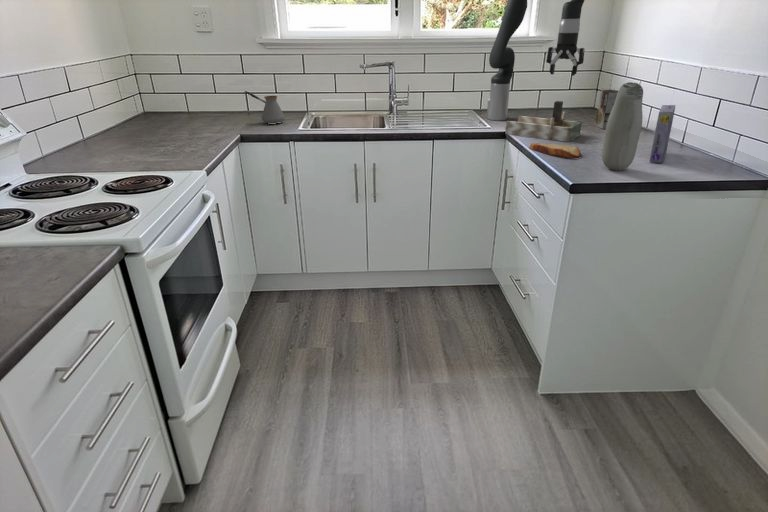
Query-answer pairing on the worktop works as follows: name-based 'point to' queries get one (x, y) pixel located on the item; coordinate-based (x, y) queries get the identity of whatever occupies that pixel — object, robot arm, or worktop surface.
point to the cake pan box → (662, 133)
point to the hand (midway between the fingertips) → (562, 74)
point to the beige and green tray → (544, 128)
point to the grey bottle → (623, 127)
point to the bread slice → (556, 150)
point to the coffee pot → (270, 109)
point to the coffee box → (605, 107)
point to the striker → (557, 113)
